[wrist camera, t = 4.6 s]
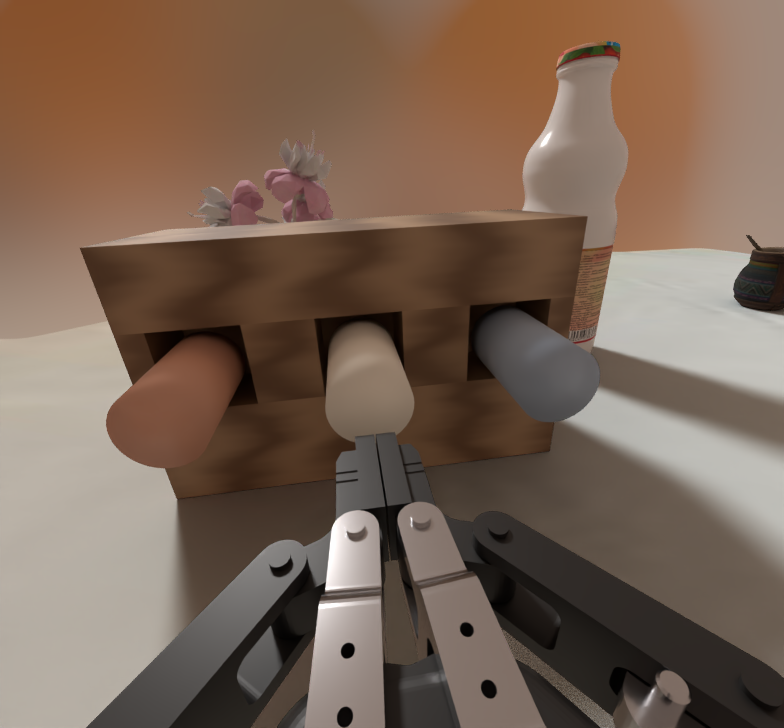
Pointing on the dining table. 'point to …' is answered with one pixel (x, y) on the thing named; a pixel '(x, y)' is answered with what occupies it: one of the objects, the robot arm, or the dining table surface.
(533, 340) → the slate-blue button
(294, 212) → the flower
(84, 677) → the dining table surface
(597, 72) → the fruit juice
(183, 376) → the terracotta button
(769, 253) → the mate gourd
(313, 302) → the block
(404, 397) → the cream button
